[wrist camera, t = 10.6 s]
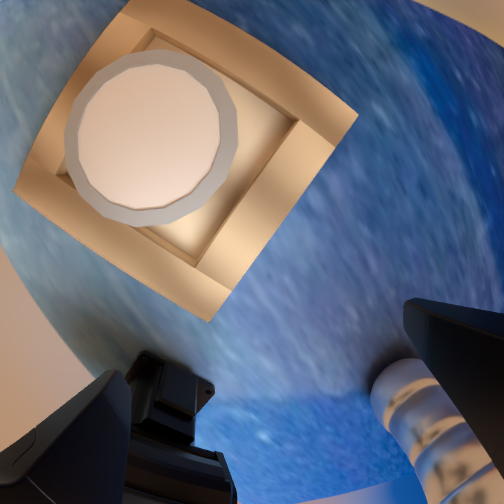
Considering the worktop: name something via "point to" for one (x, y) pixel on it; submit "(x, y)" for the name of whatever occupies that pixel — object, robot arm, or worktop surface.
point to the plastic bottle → (434, 436)
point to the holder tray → (241, 171)
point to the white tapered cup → (151, 137)
